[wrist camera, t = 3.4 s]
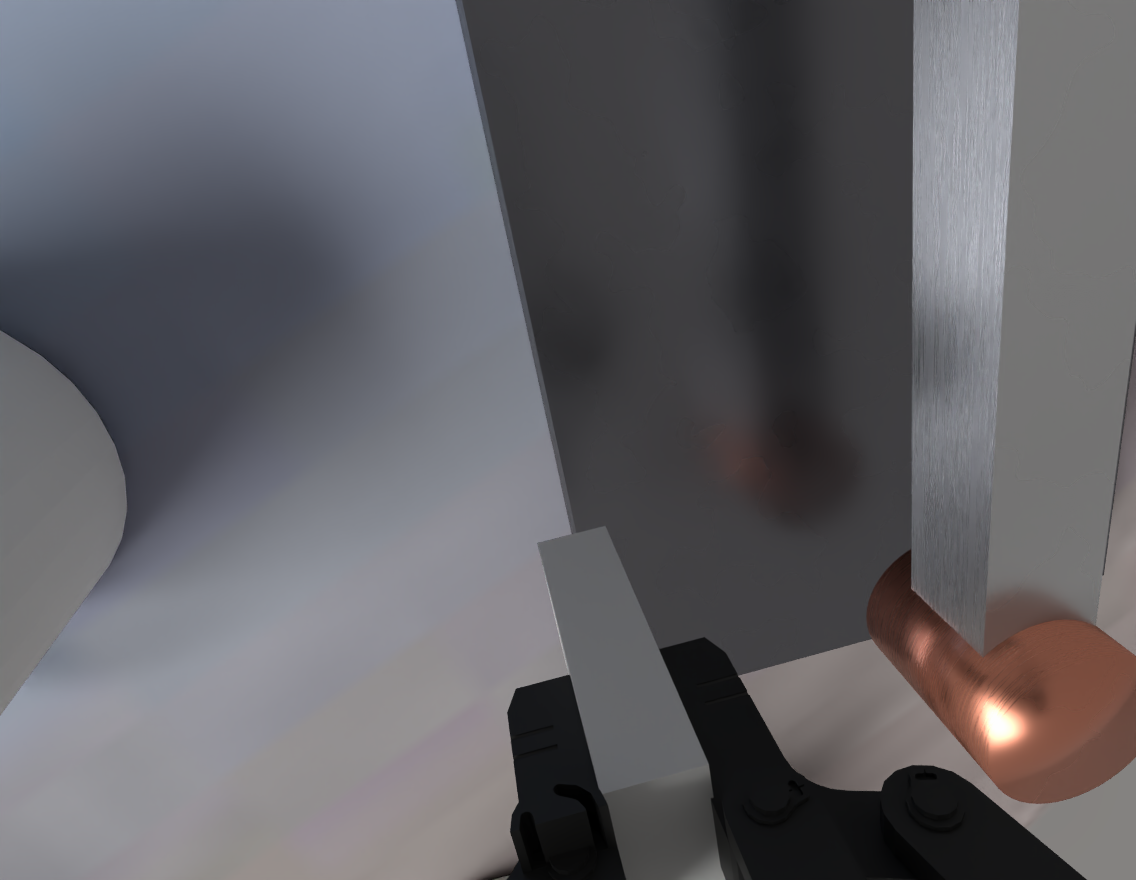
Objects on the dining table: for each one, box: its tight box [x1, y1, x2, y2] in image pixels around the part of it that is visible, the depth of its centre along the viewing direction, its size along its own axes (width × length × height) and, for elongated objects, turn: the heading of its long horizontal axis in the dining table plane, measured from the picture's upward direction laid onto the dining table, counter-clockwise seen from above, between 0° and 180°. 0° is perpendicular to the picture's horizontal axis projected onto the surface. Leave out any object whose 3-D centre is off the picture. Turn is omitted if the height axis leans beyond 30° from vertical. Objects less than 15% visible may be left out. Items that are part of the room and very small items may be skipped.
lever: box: [866, 0, 1136, 804], centre depth 11 cm, size 28×6×4 cm, turn 11°
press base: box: [456, 0, 1136, 675], centre depth 16 cm, size 30×16×6 cm, turn 11°
